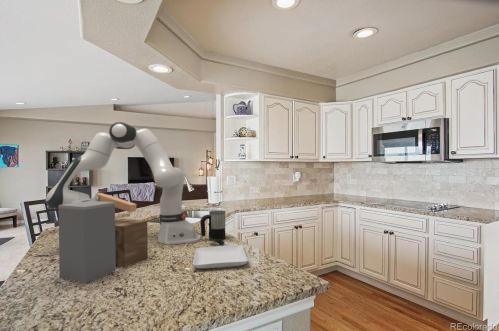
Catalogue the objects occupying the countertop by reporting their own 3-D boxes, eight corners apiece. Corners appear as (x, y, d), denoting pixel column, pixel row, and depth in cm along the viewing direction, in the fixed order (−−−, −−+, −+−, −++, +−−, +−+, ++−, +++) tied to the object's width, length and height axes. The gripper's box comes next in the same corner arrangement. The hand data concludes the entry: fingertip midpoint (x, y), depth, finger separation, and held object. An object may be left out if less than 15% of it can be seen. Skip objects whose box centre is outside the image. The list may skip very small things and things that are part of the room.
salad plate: (192, 273, 99) (192, 264, 99) (195, 254, 120) (195, 247, 120) (248, 269, 102) (248, 260, 102) (242, 251, 123) (242, 244, 123)
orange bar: (94, 200, 119) (95, 193, 119) (100, 199, 122) (101, 192, 121) (130, 212, 110) (130, 205, 110) (135, 211, 113) (136, 204, 112)
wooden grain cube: (100, 262, 111) (99, 223, 111) (124, 253, 122) (124, 218, 122) (124, 267, 105) (124, 226, 105) (147, 257, 116) (147, 220, 116)
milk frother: (219, 235, 151) (219, 209, 151) (237, 241, 139) (237, 212, 139) (197, 241, 141) (197, 212, 141) (215, 247, 129) (214, 216, 129)
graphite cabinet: (59, 277, 96) (58, 205, 96) (91, 265, 107) (90, 200, 107) (85, 283, 91) (84, 207, 91) (115, 270, 101) (114, 202, 101)
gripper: (59, 207, 115) (77, 192, 110) (102, 201, 134) (119, 188, 129) (64, 220, 114) (82, 206, 109) (107, 213, 132) (124, 200, 127)
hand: (103, 196), depth 119 cm, fingers closed on orange bar, 3 cm apart
